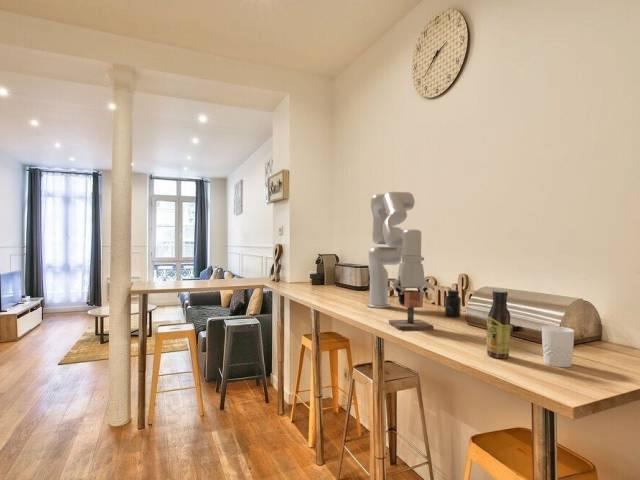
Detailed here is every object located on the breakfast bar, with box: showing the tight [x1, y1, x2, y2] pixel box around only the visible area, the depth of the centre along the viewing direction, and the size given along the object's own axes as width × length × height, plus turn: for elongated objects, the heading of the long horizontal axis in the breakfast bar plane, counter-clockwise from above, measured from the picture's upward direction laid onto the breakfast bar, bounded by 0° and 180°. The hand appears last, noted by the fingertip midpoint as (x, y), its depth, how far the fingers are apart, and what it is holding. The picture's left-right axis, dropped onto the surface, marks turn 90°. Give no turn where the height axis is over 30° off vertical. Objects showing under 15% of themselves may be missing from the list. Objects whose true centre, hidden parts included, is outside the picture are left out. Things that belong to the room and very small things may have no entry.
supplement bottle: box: [444, 289, 462, 318], centre depth 172 cm, size 7×7×12 cm
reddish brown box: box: [399, 289, 424, 309], centre depth 149 cm, size 7×7×6 cm
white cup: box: [541, 325, 575, 368], centre depth 105 cm, size 8×8×10 cm
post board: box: [388, 308, 434, 332], centre depth 149 cm, size 12×14×11 cm
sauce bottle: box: [486, 289, 511, 359], centre depth 111 cm, size 7×6×20 cm
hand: (410, 303), depth 149 cm, fingers closed on reddish brown box, 7 cm apart
